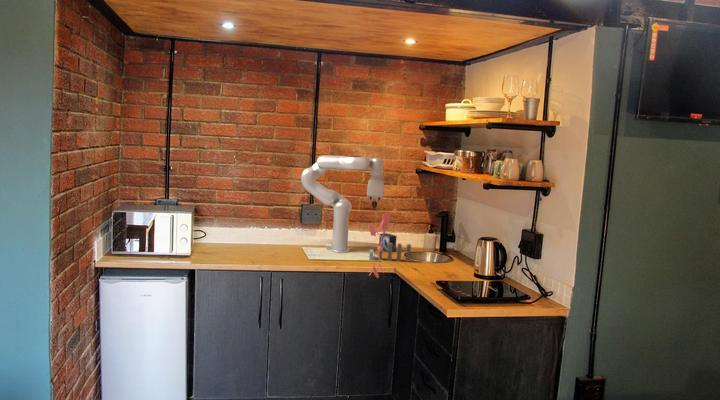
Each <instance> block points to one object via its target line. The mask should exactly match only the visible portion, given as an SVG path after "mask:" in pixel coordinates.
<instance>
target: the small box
mask: <svg viewBox="0 0 720 400" xmlns="http://www.w3.org/2000/svg"><path fill="white" fill-rule="evenodd" d="M379 234H380V235H381V236H382V242H383V250H384V252H386V251H387V252H386V253H388V247H389V243H392V253H395V252H396V251H397V239H398V238H397V235H396V234H391V233H387V232H385V234H383V233H379ZM378 238H379V239H378V241H379V243H378V245H379V244H380V242H381V237H380V236H379V237H378ZM396 253H397V252H396Z"/></svg>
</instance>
